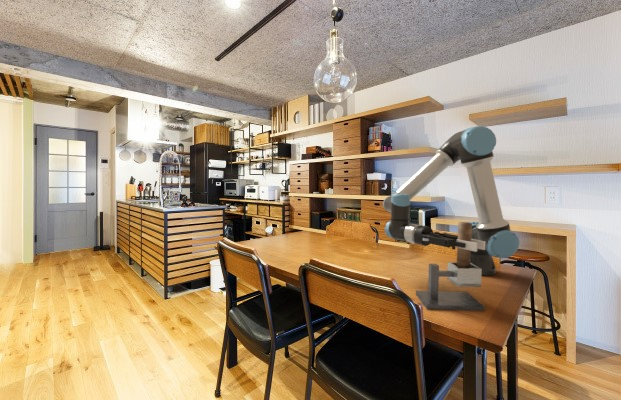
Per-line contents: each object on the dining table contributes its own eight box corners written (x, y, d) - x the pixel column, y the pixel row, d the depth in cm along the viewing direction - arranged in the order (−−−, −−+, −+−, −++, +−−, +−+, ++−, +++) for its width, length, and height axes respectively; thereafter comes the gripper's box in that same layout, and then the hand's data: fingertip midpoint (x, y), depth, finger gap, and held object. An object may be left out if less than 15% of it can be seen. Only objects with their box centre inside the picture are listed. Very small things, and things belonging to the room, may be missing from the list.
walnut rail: (466, 267, 98) (468, 222, 97) (472, 271, 94) (474, 223, 93) (454, 267, 98) (456, 221, 97) (459, 271, 94) (461, 223, 93)
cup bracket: (466, 295, 103) (467, 260, 102) (484, 310, 91) (486, 271, 90) (415, 294, 104) (416, 259, 103) (426, 309, 92) (427, 269, 91)
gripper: (432, 241, 116) (493, 254, 96) (404, 246, 107) (465, 261, 87) (433, 223, 115) (494, 232, 95) (404, 226, 106) (466, 237, 86)
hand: (480, 246), depth 91 cm, fingers closed on walnut rail, 4 cm apart
